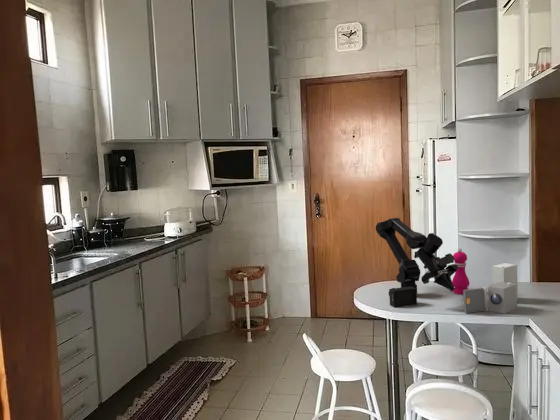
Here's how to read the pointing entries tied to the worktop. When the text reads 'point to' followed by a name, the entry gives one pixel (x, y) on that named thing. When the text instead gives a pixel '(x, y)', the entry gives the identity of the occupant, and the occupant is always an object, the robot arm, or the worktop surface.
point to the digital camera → (403, 296)
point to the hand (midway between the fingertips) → (453, 290)
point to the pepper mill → (460, 273)
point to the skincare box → (505, 274)
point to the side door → (475, 300)
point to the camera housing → (502, 297)
